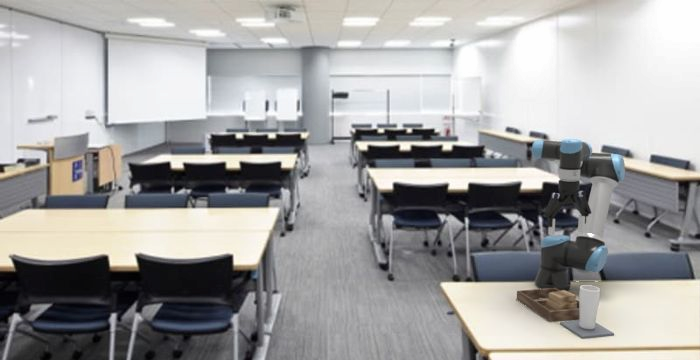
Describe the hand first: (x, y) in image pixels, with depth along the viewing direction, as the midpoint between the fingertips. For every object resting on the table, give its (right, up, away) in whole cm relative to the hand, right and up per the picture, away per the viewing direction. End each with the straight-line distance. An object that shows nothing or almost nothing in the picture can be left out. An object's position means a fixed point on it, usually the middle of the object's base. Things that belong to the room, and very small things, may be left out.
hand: (566, 233), depth 215 cm
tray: (-3, -31, +7) cm, 32 cm away
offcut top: (-2, -26, 0) cm, 26 cm away
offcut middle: (-2, -29, +1) cm, 29 cm away
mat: (+2, -34, -14) cm, 36 cm away
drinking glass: (+2, -33, -13) cm, 36 cm away
